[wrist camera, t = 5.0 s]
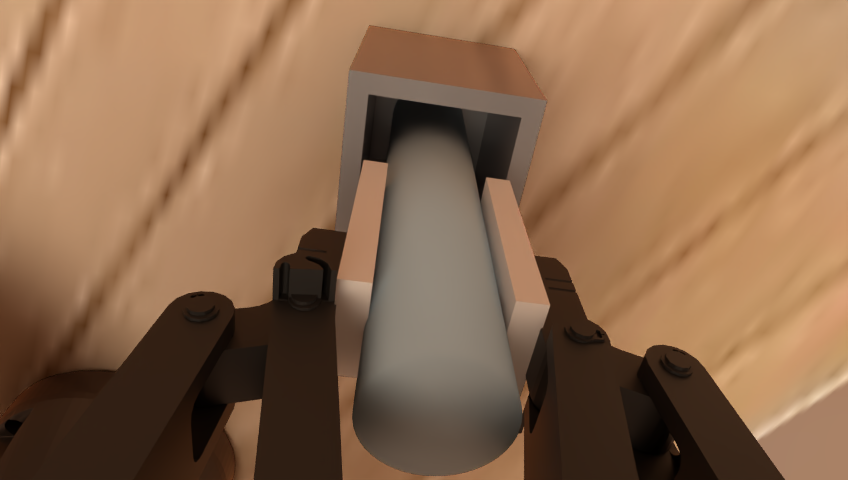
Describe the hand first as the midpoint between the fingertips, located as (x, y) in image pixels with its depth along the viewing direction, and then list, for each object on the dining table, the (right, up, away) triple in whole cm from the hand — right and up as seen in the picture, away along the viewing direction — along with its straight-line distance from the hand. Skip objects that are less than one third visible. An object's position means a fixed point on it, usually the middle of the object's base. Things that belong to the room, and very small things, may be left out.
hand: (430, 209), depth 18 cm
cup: (0, +5, +9) cm, 10 cm away
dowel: (0, +5, +8) cm, 9 cm away
